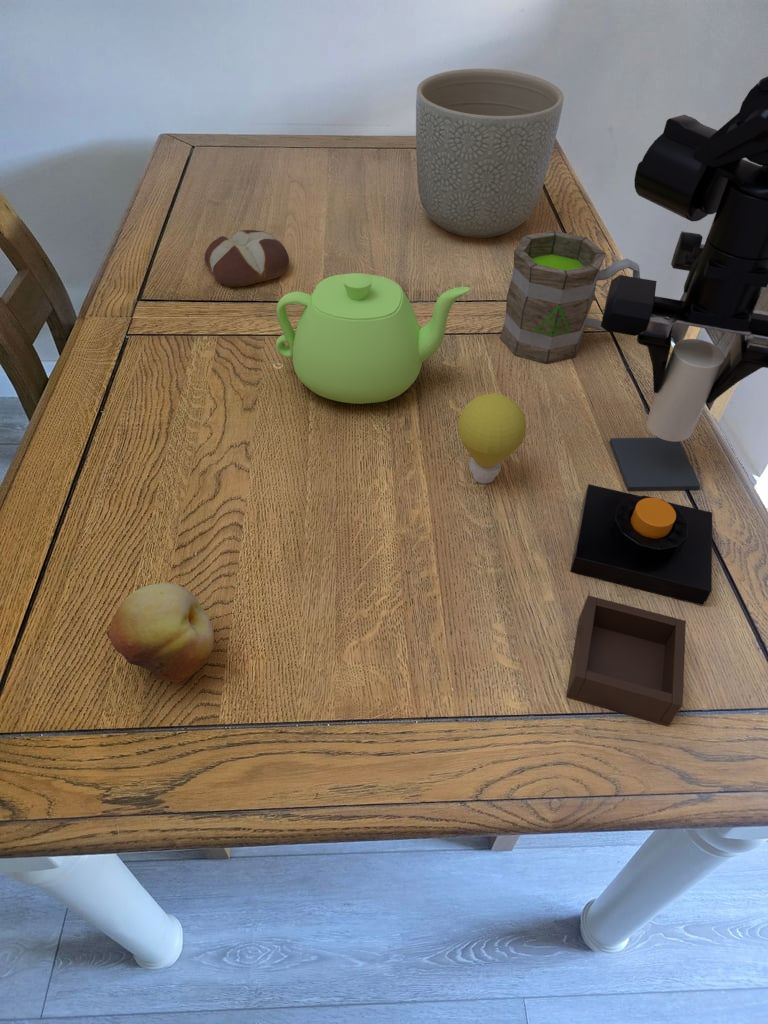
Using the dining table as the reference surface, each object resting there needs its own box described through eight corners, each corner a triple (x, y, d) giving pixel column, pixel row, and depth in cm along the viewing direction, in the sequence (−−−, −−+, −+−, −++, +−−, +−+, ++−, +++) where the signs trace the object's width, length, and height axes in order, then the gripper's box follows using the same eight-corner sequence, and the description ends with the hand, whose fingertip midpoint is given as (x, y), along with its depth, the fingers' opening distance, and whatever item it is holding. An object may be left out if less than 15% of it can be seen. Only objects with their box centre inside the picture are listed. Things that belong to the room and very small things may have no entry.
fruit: (198, 712, 56) (178, 659, 50) (105, 686, 58) (75, 631, 52) (237, 633, 61) (223, 577, 55) (150, 611, 62) (127, 554, 57)
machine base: (704, 527, 70) (719, 499, 67) (703, 605, 64) (719, 579, 61) (583, 498, 73) (592, 471, 70) (570, 572, 66) (579, 544, 63)
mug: (503, 362, 88) (518, 274, 80) (496, 315, 96) (509, 229, 87) (628, 366, 88) (658, 278, 79) (612, 318, 96) (637, 233, 87)
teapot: (459, 348, 90) (470, 251, 81) (457, 424, 80) (469, 324, 71) (289, 337, 91) (280, 240, 82) (266, 411, 81) (252, 310, 72)
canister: (693, 417, 73) (724, 343, 67) (691, 446, 70) (725, 371, 64) (647, 408, 74) (674, 334, 67) (644, 436, 71) (672, 361, 64)
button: (671, 515, 66) (677, 502, 65) (669, 543, 64) (675, 530, 63) (632, 506, 67) (637, 493, 66) (629, 533, 65) (634, 520, 64)
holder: (672, 643, 61) (686, 620, 59) (668, 726, 56) (682, 705, 53) (578, 618, 63) (587, 595, 60) (565, 697, 57) (575, 675, 55)
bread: (298, 278, 101) (295, 245, 98) (221, 295, 98) (215, 262, 94) (272, 244, 108) (268, 212, 104) (199, 259, 105) (193, 226, 101)
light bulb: (528, 478, 75) (546, 403, 67) (484, 508, 72) (498, 433, 64) (482, 445, 78) (494, 371, 71) (438, 473, 75) (446, 398, 68)
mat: (699, 489, 74) (701, 485, 73) (627, 490, 74) (629, 487, 73) (676, 441, 79) (677, 437, 78) (609, 442, 79) (610, 438, 78)
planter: (537, 197, 121) (559, 71, 107) (542, 257, 107) (569, 121, 93) (415, 190, 122) (422, 64, 108) (405, 248, 108) (411, 112, 94)
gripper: (855, 218, 61) (778, 367, 73) (634, 187, 65) (595, 334, 76) (873, 280, 54) (785, 435, 65) (624, 241, 58) (582, 394, 69)
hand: (681, 395), depth 69 cm, fingers closed on canister, 4 cm apart
